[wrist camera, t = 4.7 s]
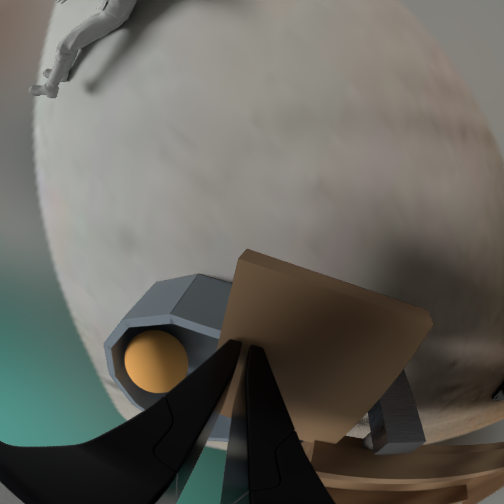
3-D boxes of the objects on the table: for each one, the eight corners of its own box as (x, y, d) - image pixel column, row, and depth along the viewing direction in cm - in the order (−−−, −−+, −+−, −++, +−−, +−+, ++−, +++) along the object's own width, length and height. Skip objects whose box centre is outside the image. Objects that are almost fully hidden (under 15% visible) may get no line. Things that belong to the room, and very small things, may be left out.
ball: (168, 310, 17) (205, 350, 14) (165, 352, 18) (197, 390, 16) (111, 326, 14) (142, 375, 12) (117, 368, 15) (146, 413, 13)
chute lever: (579, 361, 5) (598, 392, 2) (456, 482, 10) (459, 512, 7) (248, 246, 8) (199, 302, 5) (198, 446, 14) (177, 485, 11)
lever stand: (412, 316, 14) (464, 425, 6) (328, 429, 19) (328, 512, 12) (342, 297, 14) (368, 428, 7) (274, 421, 19) (261, 508, 12)
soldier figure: (57, 58, 12) (135, -79, 4) (111, 70, 15) (198, -59, 7) (15, 110, 8) (113, -101, 1) (89, 123, 12) (212, -74, 4)
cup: (318, 308, 15) (323, 357, 11) (266, 413, 19) (259, 453, 15) (136, 253, 15) (97, 285, 12) (137, 371, 20) (116, 405, 16)
